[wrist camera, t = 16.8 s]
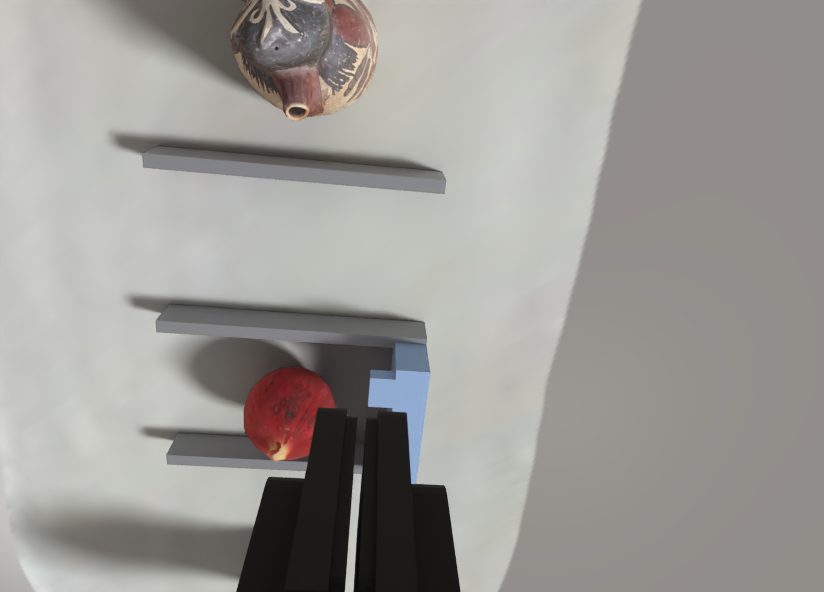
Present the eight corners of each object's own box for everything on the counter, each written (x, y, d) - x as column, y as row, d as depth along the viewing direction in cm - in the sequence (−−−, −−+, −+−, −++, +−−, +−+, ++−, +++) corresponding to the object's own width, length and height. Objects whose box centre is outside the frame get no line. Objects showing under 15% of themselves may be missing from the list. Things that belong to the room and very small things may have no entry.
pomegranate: (273, 333, 40) (248, 399, 33) (351, 363, 41) (344, 433, 34) (245, 400, 42) (215, 476, 35) (320, 426, 43) (307, 505, 36)
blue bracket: (372, 323, 40) (370, 368, 34) (423, 327, 40) (429, 372, 35) (362, 447, 44) (359, 505, 38) (409, 449, 44) (412, 507, 39)
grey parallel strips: (158, 146, 35) (142, 153, 32) (442, 171, 36) (446, 180, 34) (178, 441, 43) (167, 464, 41) (408, 454, 44) (410, 476, 42)
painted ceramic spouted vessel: (373, -28, 32) (366, -67, 21) (382, 109, 34) (381, 139, 23) (240, -21, 32) (163, -57, 20) (261, 116, 34) (202, 150, 23)
